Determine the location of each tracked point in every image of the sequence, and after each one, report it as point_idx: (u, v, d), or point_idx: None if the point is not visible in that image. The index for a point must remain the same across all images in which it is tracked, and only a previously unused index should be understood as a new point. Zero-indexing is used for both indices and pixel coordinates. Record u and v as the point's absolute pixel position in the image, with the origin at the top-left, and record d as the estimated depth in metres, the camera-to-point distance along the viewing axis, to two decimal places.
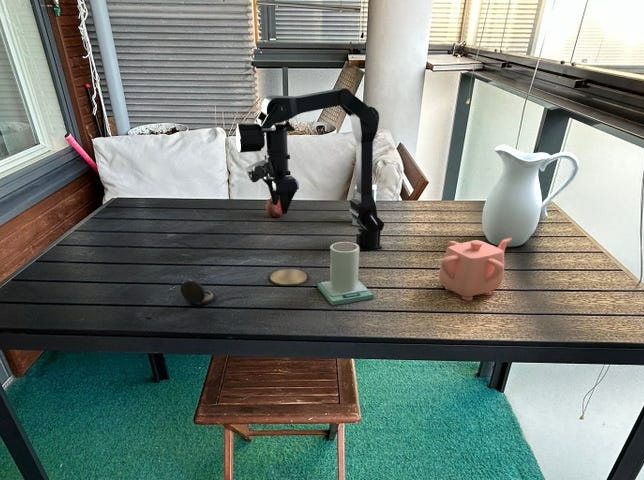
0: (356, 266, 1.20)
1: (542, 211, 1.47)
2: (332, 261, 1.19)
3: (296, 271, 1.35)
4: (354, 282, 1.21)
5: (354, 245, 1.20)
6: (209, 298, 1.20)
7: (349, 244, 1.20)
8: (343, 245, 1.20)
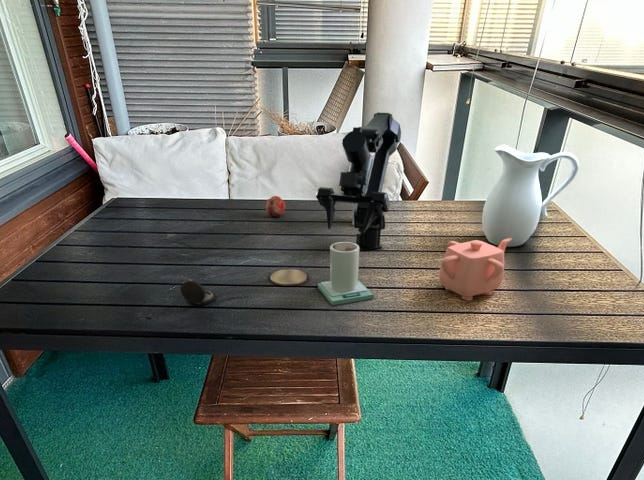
0: (356, 266, 1.20)
1: (542, 211, 1.47)
2: (332, 261, 1.19)
3: (296, 271, 1.35)
4: (354, 282, 1.21)
5: (354, 245, 1.20)
6: (209, 298, 1.20)
7: (349, 244, 1.20)
8: (343, 245, 1.20)
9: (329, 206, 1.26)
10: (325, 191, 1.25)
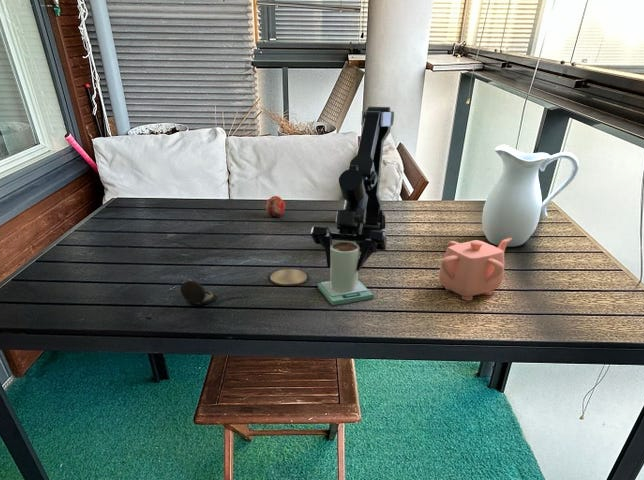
0: (356, 266, 1.20)
1: (542, 211, 1.47)
2: (332, 261, 1.19)
3: (296, 271, 1.35)
4: (354, 282, 1.21)
5: (354, 245, 1.20)
6: (209, 298, 1.20)
7: (349, 244, 1.20)
8: (343, 245, 1.20)
9: (328, 245, 1.21)
10: (320, 229, 1.21)
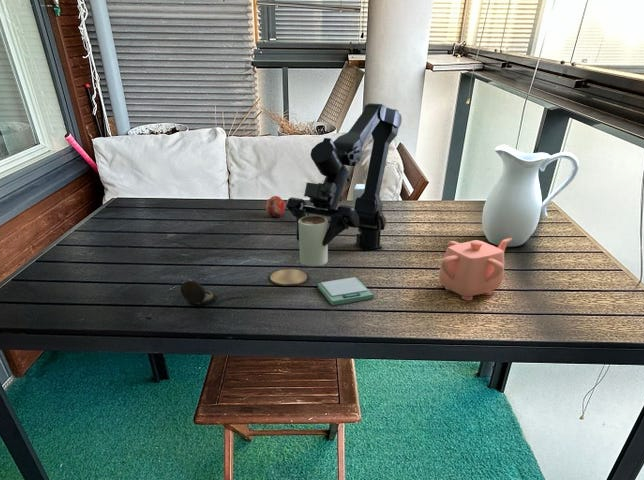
0: (322, 240, 1.19)
1: (542, 211, 1.47)
2: (299, 234, 1.19)
3: (296, 271, 1.35)
4: (320, 257, 1.21)
5: (323, 219, 1.19)
6: (209, 298, 1.20)
7: (319, 218, 1.20)
8: (313, 218, 1.20)
9: (300, 217, 1.22)
10: (294, 202, 1.22)
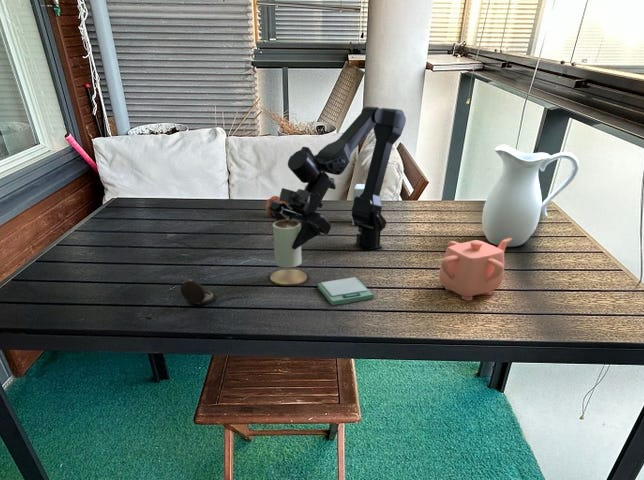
0: (292, 244, 1.24)
1: (542, 211, 1.47)
2: (273, 236, 1.26)
3: (296, 271, 1.35)
4: (290, 259, 1.26)
5: (296, 224, 1.24)
6: (209, 298, 1.20)
7: (294, 222, 1.25)
8: (287, 222, 1.26)
9: None
10: (275, 205, 1.29)
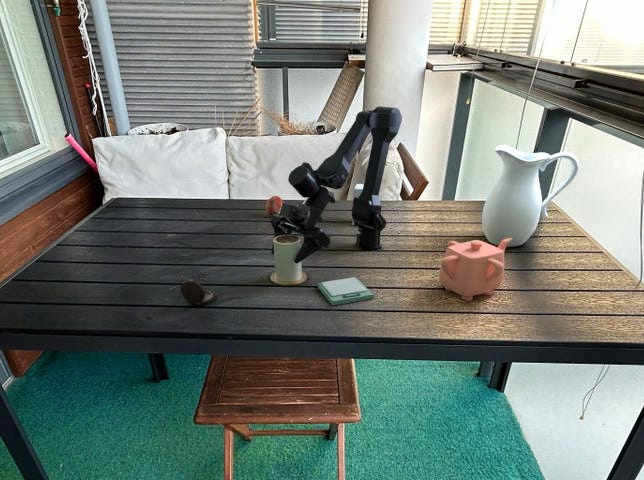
0: (292, 259, 1.27)
1: (542, 211, 1.47)
2: (274, 250, 1.28)
3: None
4: (291, 274, 1.29)
5: (296, 239, 1.27)
6: (209, 298, 1.20)
7: (294, 238, 1.28)
8: (288, 237, 1.28)
9: (277, 233, 1.31)
10: (276, 218, 1.31)
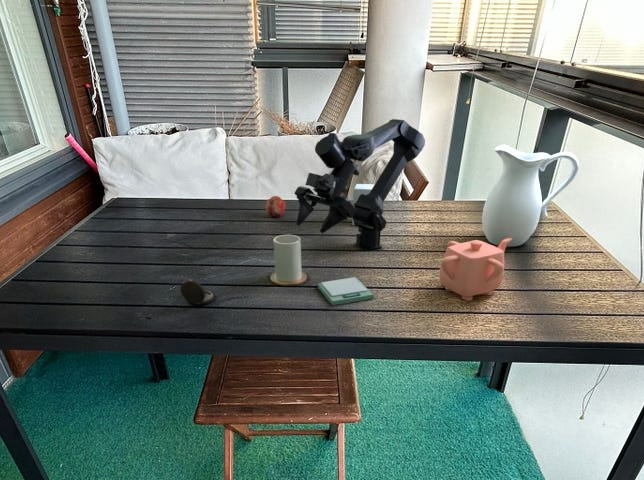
0: (292, 259, 1.27)
1: (542, 211, 1.47)
2: (274, 250, 1.28)
3: None
4: (291, 274, 1.29)
5: (296, 239, 1.27)
6: (209, 298, 1.20)
7: (294, 238, 1.28)
8: (288, 237, 1.28)
9: (302, 204, 1.33)
10: (301, 190, 1.33)
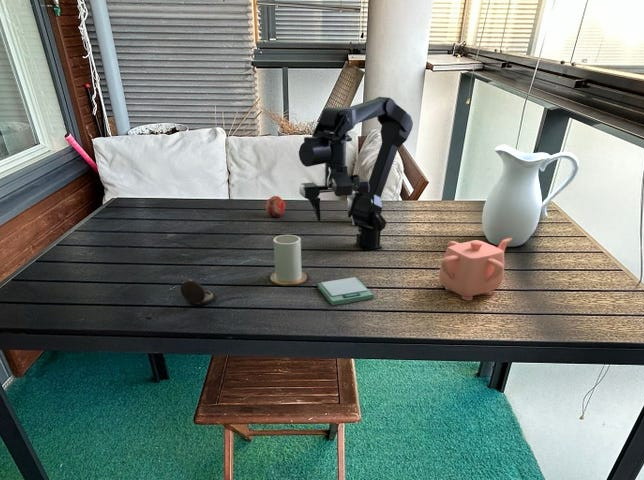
0: (292, 259, 1.27)
1: (542, 211, 1.47)
2: (274, 250, 1.28)
3: None
4: (291, 274, 1.29)
5: (296, 239, 1.27)
6: (209, 298, 1.20)
7: (294, 238, 1.28)
8: (288, 237, 1.28)
9: (318, 203, 1.32)
10: (314, 193, 1.29)
